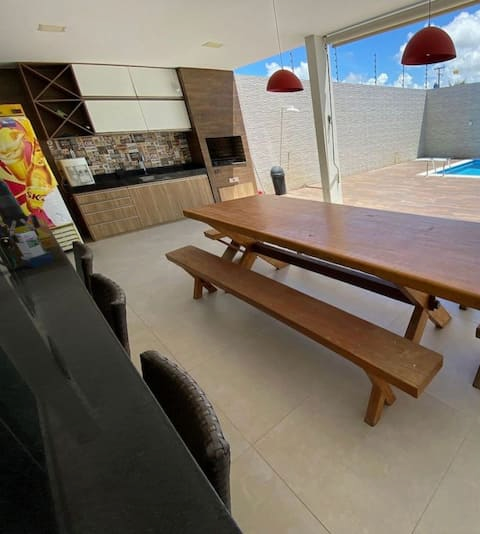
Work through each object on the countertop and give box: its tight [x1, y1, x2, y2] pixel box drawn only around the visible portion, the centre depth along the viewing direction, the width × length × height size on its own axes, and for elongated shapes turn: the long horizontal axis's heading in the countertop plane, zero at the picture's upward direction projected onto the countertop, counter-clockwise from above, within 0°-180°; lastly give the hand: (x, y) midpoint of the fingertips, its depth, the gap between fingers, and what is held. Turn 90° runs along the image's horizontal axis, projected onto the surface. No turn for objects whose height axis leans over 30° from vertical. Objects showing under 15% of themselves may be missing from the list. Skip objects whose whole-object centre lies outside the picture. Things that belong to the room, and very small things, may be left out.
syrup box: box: [14, 230, 48, 258], centre depth 145 cm, size 6×6×14 cm
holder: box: [20, 251, 55, 269], centre depth 148 cm, size 8×8×5 cm
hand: (27, 240), depth 143 cm, fingers closed on syrup box, 6 cm apart
